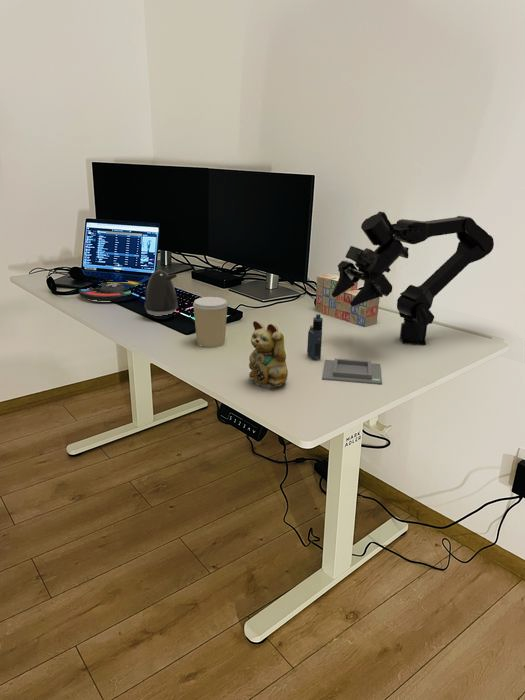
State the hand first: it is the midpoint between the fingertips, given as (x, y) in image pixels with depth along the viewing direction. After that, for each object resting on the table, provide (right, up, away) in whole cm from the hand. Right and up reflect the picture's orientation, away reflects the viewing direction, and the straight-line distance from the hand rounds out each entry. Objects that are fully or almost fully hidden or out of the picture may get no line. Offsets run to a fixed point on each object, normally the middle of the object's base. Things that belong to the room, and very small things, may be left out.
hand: (341, 300), depth 142 cm
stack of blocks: (+6, -2, +35) cm, 36 cm away
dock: (+1, -18, -8) cm, 20 cm away
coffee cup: (-35, -11, +10) cm, 38 cm away
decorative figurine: (-19, -21, -14) cm, 31 cm away
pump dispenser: (-52, -3, +30) cm, 60 cm away
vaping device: (-7, -15, +1) cm, 17 cm away
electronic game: (-74, +6, +54) cm, 92 cm away
